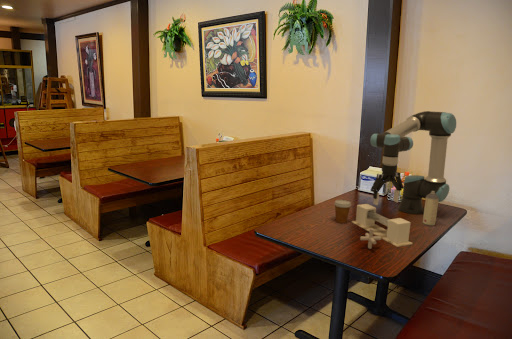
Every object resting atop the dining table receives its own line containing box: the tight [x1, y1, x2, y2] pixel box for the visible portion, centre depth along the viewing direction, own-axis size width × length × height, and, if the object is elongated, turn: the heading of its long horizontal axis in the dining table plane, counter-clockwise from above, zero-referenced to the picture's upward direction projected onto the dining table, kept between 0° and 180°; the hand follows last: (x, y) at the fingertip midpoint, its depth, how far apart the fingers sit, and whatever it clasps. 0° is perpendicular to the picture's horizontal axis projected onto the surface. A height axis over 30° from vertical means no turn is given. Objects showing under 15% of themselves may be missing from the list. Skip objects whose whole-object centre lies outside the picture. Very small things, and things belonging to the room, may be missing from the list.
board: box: [350, 220, 413, 248], centre depth 205 cm, size 37×10×1 cm, turn 23°
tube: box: [367, 211, 390, 228], centre depth 201 cm, size 24×4×4 cm, turn 23°
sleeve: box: [355, 203, 377, 227], centre depth 215 cm, size 8×7×11 cm
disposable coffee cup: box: [334, 199, 352, 224], centre depth 219 cm, size 10×10×12 cm
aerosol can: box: [422, 191, 439, 227], centre depth 218 cm, size 7×7×20 cm
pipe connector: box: [359, 228, 382, 250], centre depth 184 cm, size 10×10×10 cm
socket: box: [386, 217, 412, 244], centre depth 192 cm, size 7×8×11 cm
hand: (385, 203), depth 200 cm, fingers open, 13 cm apart
